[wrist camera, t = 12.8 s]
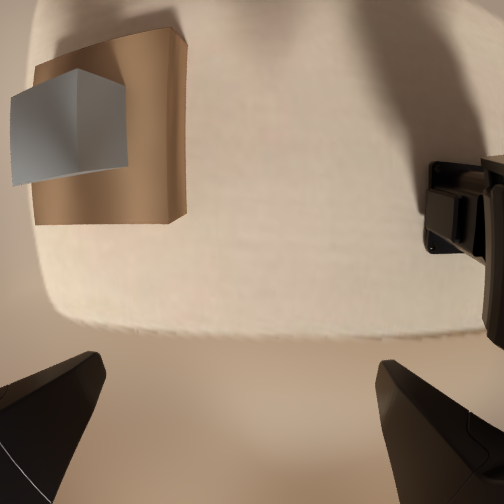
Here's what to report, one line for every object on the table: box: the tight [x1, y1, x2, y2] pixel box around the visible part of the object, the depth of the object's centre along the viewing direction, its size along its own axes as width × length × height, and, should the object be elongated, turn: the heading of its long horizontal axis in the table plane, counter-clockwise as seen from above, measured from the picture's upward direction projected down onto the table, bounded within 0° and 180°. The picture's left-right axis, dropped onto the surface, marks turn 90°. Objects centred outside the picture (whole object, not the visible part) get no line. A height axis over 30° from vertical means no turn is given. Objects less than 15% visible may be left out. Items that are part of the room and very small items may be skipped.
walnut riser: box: [32, 27, 188, 225], centre depth 18 cm, size 11×12×4 cm
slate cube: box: [10, 68, 128, 186], centre depth 14 cm, size 5×5×5 cm
